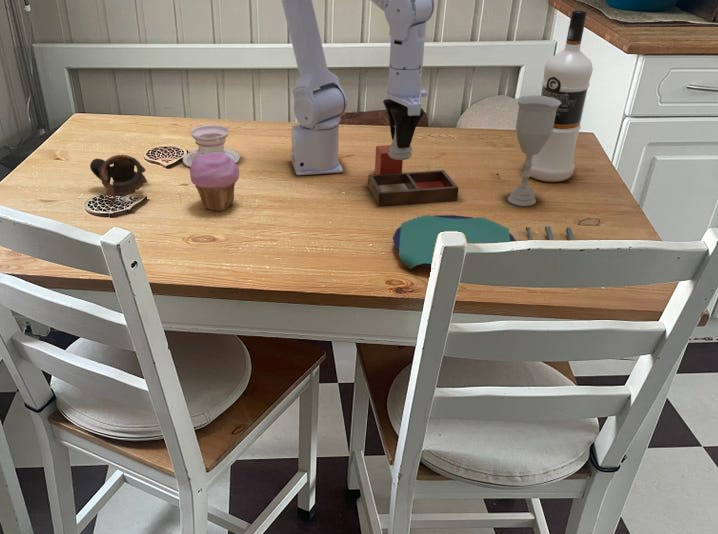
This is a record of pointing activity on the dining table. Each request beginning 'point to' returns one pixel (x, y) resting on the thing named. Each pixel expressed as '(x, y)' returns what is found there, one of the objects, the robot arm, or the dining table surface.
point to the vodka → (564, 105)
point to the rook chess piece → (399, 151)
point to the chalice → (532, 138)
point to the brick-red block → (386, 161)
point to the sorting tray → (412, 187)
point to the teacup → (209, 142)
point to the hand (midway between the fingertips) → (400, 143)
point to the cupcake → (214, 179)
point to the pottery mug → (119, 175)
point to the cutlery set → (422, 231)
